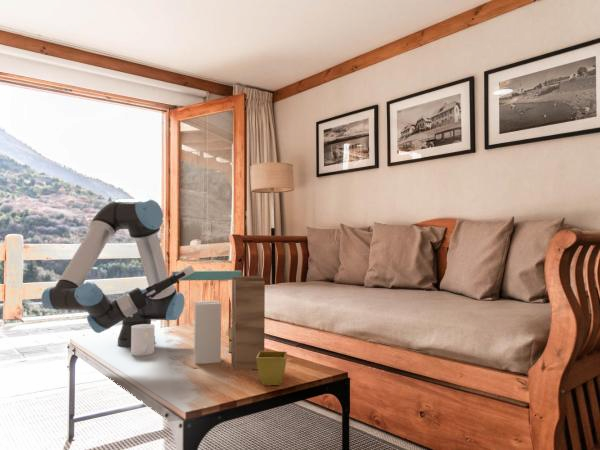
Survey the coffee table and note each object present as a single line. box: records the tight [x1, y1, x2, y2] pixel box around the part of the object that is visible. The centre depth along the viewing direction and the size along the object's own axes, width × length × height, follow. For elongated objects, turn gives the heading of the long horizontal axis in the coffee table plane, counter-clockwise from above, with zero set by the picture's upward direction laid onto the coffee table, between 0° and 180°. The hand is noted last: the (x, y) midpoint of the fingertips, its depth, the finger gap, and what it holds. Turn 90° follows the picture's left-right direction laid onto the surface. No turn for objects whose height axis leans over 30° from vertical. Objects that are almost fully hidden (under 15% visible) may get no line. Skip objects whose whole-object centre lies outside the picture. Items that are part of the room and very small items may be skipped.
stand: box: [230, 275, 266, 372], centre depth 164 cm, size 10×10×31 cm
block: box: [171, 270, 243, 282], centre depth 172 cm, size 3×25×3 cm, turn 106°
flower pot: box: [256, 350, 288, 386], centre depth 144 cm, size 9×9×9 cm
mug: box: [130, 323, 155, 357], centre depth 181 cm, size 9×12×11 cm
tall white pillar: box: [193, 300, 222, 365], centre depth 172 cm, size 8×9×21 cm
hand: (192, 268), depth 171 cm, fingers closed on block, 3 cm apart
